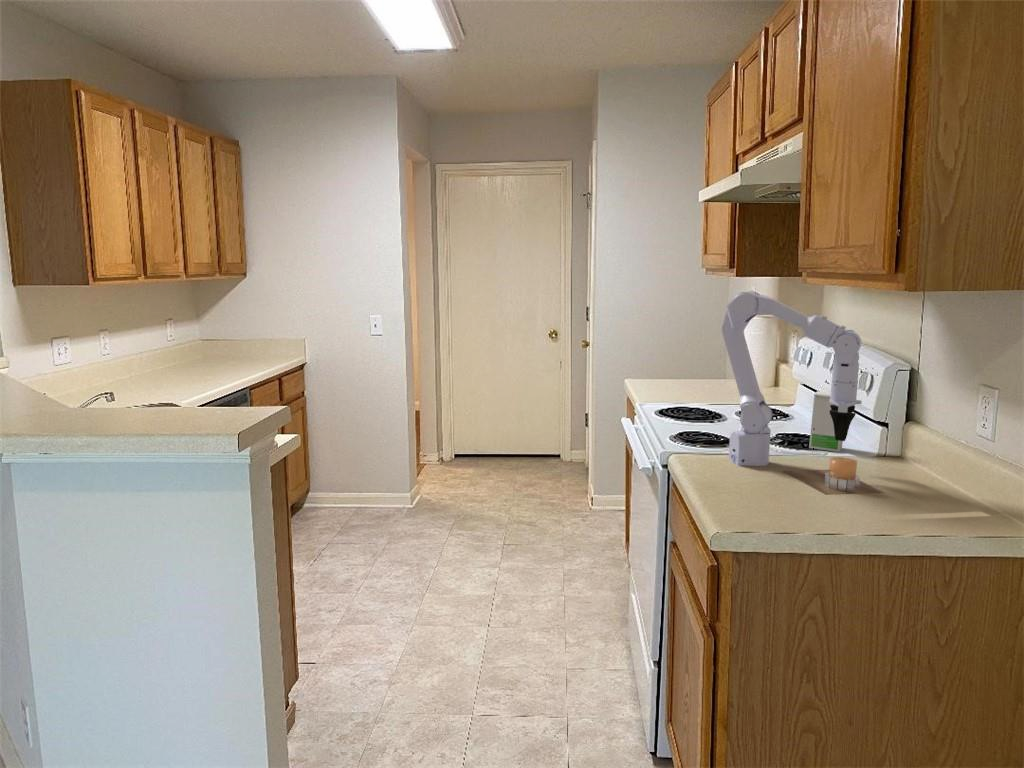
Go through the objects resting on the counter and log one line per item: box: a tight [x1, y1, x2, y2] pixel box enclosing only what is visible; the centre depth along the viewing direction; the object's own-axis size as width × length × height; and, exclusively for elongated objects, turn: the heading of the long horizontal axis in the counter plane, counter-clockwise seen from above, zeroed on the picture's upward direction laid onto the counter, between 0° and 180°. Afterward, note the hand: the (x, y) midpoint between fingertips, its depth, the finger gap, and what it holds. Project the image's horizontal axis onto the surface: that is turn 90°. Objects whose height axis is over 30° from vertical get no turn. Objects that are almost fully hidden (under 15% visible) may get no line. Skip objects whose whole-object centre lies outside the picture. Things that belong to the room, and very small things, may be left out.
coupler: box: [828, 456, 858, 479], centre depth 174 cm, size 6×6×6 cm
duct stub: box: [824, 472, 861, 491], centre depth 174 cm, size 7×7×2 cm
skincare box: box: [808, 390, 844, 453], centre depth 215 cm, size 8×7×16 cm
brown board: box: [782, 469, 886, 495], centre depth 179 cm, size 14×20×1 cm
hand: (840, 437), depth 185 cm, fingers open, 7 cm apart
